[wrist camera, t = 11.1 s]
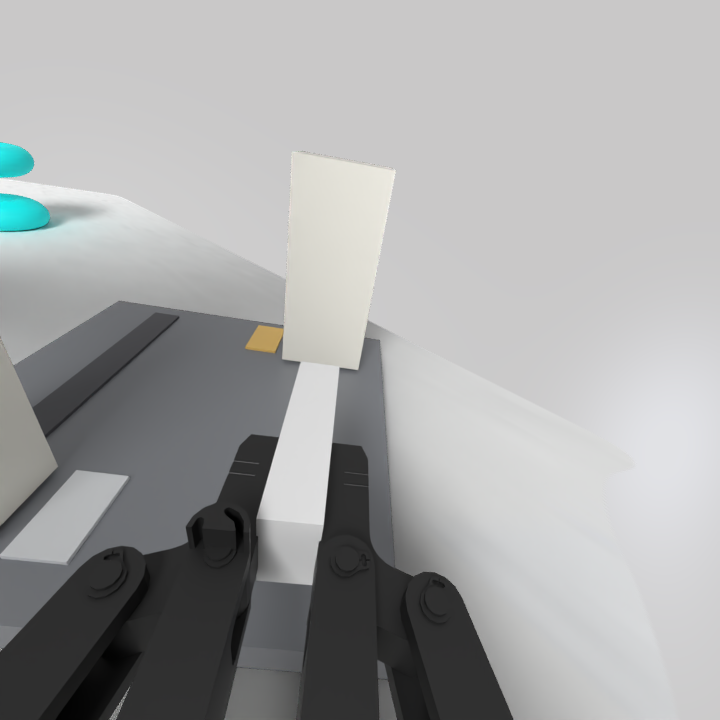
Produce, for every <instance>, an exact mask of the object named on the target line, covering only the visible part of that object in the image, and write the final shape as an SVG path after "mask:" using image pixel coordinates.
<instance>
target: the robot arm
mask: <svg viewBox="0 0 720 720" xmlns="http://www.w3.org/2000/svg"><path fill="white" fill-rule="evenodd" d="M339 367H340V366H333V365H325V364H318V363H311V362H303V361H301V363H300V366H299V370H298V373H297V377H296V380H295V384H294V387H293V391H292V394H291V398H290V401H289V405H288V409H287V412H286V416H285V419H284V423H283V426H282V430H281V433H280V437H272V436H264V435H255V434H251V435H250V436H249V437H248V438H247V439H246V440H245V441H244V442H243V443H242V444H241V445H240V446H239V448H238V451H237V453H236V456H235V458H234V462H233V463H232V465H231V468H230V470H229V474H228V475H227V478H226V480H225V482H224V485H223V487H222V490H221V492H220V495H219V497H218V500H217V502H216V503H214V504H212V505H209V506H206V507H204V508H202V509H201V510H200V511H199V512H197V513H196V514H195V515H193V516H192V518H191V519H190V521H189V522H188V524H187V525H186V532H187V538H188V542H187V543H185V544H183V545H181V546H178V547H175V548H172V549H167V550H163V551H159V552H154V553H150V554H145V555H143V554H142V553H141V552H140V551H138V550H137V549H135V548H134V547H128V546H118V547H113V548H108V549H106V550H104V551H102V552H100V553H98V554H96V555H94V556H92V557H91V558H90V559H89V560H88V561H86V562H85V563H84V564H83V565H82V566H80V567H79V568H78V569H77V570H76V572H75V573H74V574H73V575H72V576H71V577H70V578H69V579H68V580H67V581H66V582H65V583H64V584H63V585H62V586H61V588H60V589H59V590H58V591H57V592H56V593H55V594H54V595H53V596H52V597H51V598H50V599H49V600H48V601H47V603H46V604H45V605H44V606H43V607H42V608H41V609H40V610H39V611H38V612H37V613H36V614H35V615H34V616H33V617H32V619H31V620H30V621H29V622H28V623H27V624H26V625H25V626H24V627H23V628H22V629H21V630H20V631H19V632H18V634H17V635H16V636H15V637H14V638H13V639H12V640H11V641H10V642H9V643H8V644H7V645H6V646H5V647H4V648H3V650H2V651H1V652H0V720H109V718H110V717H111V715H112V714H113V712H114V710H115V709H116V707H117V706H118V704H119V702H120V701H121V699H122V698H123V696H124V694H125V693H126V691H127V690H128V688H129V686H130V685H131V686H130V689H129V691H128V694H127V696H126V698H125V701H124V703H123V705H122V708H121V710H120V712H119V715H118V717H117V719H116V720H224V718H225V714H226V709H227V705H228V701H229V697H230V693H231V688H232V684H233V680H234V676H235V672H236V667H237V663H238V659H239V655H240V651H241V646H242V642H243V638H244V634H245V630H246V626H247V621H248V617H249V613H250V609H251V594H252V590H253V586H254V582H255V578H256V581H268V582H280V583H292V584H304V585H312V592H311V601H310V607H309V613H308V618H307V624H306V625H307V630H306V639H305V647H304V656H303V664H302V673H301V682H300V690H299V699H298V707H297V716H296V720H379V698H378V664H377V660H379V661H380V662H382V663H384V664H385V668H386V673H387V677H388V682H389V686H390V691H391V695H392V699H393V704H394V708H395V713H396V717H397V720H513V717H512V715H511V712H510V710H509V708H508V705H507V703H506V701H505V698H504V696H503V694H502V691H501V689H500V687H499V684H498V682H497V679H496V677H495V675H494V672H493V670H492V668H491V665H490V663H489V661H488V658H487V656H486V653H485V651H484V649H483V646H482V644H481V642H480V639H479V637H478V635H477V632H476V630H475V628H474V625H473V623H472V620H471V618H470V616H469V613H468V611H467V609H466V606H465V604H464V602H463V599H462V597H461V596H460V594H459V592H458V591H457V589H456V587H455V586H454V585H453V584H452V583H451V582H450V581H449V580H448V579H446V578H445V577H443V576H441V575H439V574H437V573H435V572H423V573H420V574H418V575H416V576H414V577H413V576H411V575H409V574H406V573H404V572H402V571H400V570H398V569H396V568H393V567H392V566H390V565H388V564H387V563H385V562H384V561H383V560H382V559H381V558H380V557H379V556H378V554H377V553H376V551H375V550H374V548H373V545H372V543H371V539H370V523H369V488H368V487H369V476H368V458H367V456H366V454H365V452H364V450H363V448H362V446H357V445H348V444H340V443H332V437H333V427H334V417H335V407H336V397H337V387H338V377H339ZM131 683H132V684H131Z"/></svg>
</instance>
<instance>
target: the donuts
mask: <svg viewBox="0 0 720 720" xmlns="http://www.w3.org/2000/svg"><path fill="white" fill-rule="evenodd" d="M33 166H34V160H33V158H32V156H31V155H30V154H29V153H28V152H27V151H26V150H25V149H23V148H21V147H19V146H15V145H12V144H7V143H1V142H0V178H4V177H17V176H22V175H25V174H27V173H29V172H30V171H31V170H32V169H33ZM49 220H50V214H49V212H48V210H47V209H46V208H45V207H44V206H43V205H42V204H40V203H39V202H37V201H35V200H33V199H30V198H27V197H23V196H18V195H12V194H2V193H0V231H22V230H31V229H36V228H40V227H42V226H44V225H46V224H47V223H48V222H49Z"/></svg>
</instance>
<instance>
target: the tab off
mask: <svg viewBox="0 0 720 720" xmlns="http://www.w3.org/2000/svg"><path fill="white" fill-rule="evenodd" d="M57 467H58V465H57V463H56V460H55V458H54V456H53V454H52V452H51V449H50V447H49V445H48V443H47V440H46V438H45V436H44V434H43V431H42V429H41V427H40V425H39V422H38V420H37V418H36V416H35V414H34V411H33V409H32V407H31V405H30V402H29V400H28V398H27V396H26V393H25V391H24V389H23V387H22V384H21V382H20V380H19V378H18V375H17V373H16V371H15V369H14V367H13V364H12V362H11V360H10V358H9V355H8V353H7V351H6V349H5V346H4V344H3V342H2V340H1V337H0V526H1V525H2V524H3V523H4V522H5V521H6V520H7V519H8V518H9V517H10V516H11V515H12V513H13V512H14V511H15V510H16V509H17V508H18V507H19V506H20V505H21V504H22V503H23V502H24V501H25V500H26V499H27V498H28V497H29V496H30V495H31V494H32V493H33V492H34V491H35V490H36V489H37V488H38V487H39V486H40V485H41V484H42V483H43V482H44V481H45V480H46V479H47V477H48V476H49V475H50V474H51V473H52V472H53V471H54V470H55V469H56V468H57Z"/></svg>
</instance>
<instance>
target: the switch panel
mask: <svg viewBox="0 0 720 720" xmlns="http://www.w3.org/2000/svg"><path fill="white" fill-rule="evenodd" d="M283 331H284V326H283V325H277V324H270V323H263V322H257V321H250V320H243V319H237V318H230V317H223V316H217V315H210V314H204V313H197V312H190V311H184V310H177V309H170V308H164V307H157V306H150V305H144V304H137V303H130V302H124V301H118V302H117V303H115V304H113V305H112V306H110V307H109V308H107V309H105V310H104V311H102V312H100V313H99V314H97V315H95V316H94V317H92V318H91V319H89V320H87V321H86V322H84V323H82V324H81V325H79V326H78V327H76V328H74V329H73V330H71V331H69V332H68V333H66V334H65V335H63V336H61V337H60V338H58V339H56V340H55V341H53V342H51V343H50V344H48V345H47V346H45V347H43V348H42V349H40V350H38V351H37V352H35V353H34V354H32V355H30V356H29V357H27V358H25V359H24V360H22V361H21V362H19V363H17V364H16V365H14V366H13V367H14V369H15V371H16V373H17V375H18V378H19V380H20V382H21V384H22V387H23V389H24V391H25V393H26V396H27V398H28V400H29V402H30V405H31V407H32V409H33V411H34V414H35V416H36V418H37V420H38V422H39V425H40V427H41V429H42V431H43V434H44V436H45V438H46V440H47V443H48V445H49V447H50V449H51V452H52V454H53V456H54V458H55V460H56V463H57V465H58V467H57V468H56V469H55V470H54V471H53V472H52V473H51V474H50V475H49V476H48V477H47V479H46V480H45V481H44V482H43V483H42V484H41V485H40V486H39V487H38V488H37V489H36V490H35V491H34V492H33V493H32V494H31V495H30V496H29V497H28V498H27V499H26V500H25V501H24V502H23V503H22V504H21V505H20V506H19V507H18V508H17V509H16V510H15V511H14V512H13V513H12V515H11V516H10V517H9V518H8V519H7V520H6V521H5V522H4V523H3V524H2V525H1V526H0V648H4V647H5V646H6V645H7V644H8V643H9V642H10V641H11V640H12V639H13V638H14V637H15V636H16V635H17V634H18V632H19V631H20V630H21V629H22V628H23V627H24V626H25V625H26V624H27V623H28V622H29V621H30V620H31V619H32V617H33V616H34V615H35V614H36V613H37V612H38V611H39V610H40V609H41V608H42V607H43V606H44V605H45V604H46V603H47V601H48V600H49V599H50V598H51V597H52V596H53V595H54V594H55V593H56V592H57V591H58V590H59V589H60V588H61V586H62V585H63V584H64V583H65V582H66V581H67V580H68V579H69V578H70V577H71V576H72V575H73V574H74V573H75V572H76V570H77V569H78V568H79V567H80V566H82V565H83V564H84V563H85V562H86V561H88V560H89V559H90V558H91V557H92V556H94V555H96V554H98V553H100V552H102V551H104V550H106V549H108V548H113V547H118V546H128V547H134V548H135V549H137V550H138V551H140V552H141V553H142V554H143V555H145V554H150V553H154V552H159V551H163V550H167V549H172V548H175V547H178V546H181V545H183V544H185V543H187V542H188V538H187V532H186V525H187V524H188V522H189V521H190V519H191V518H192V516H193V515H195V514H196V513H197V512H199V511H200V510H201V509H202V508H204V507H206V506H209V505H212V504H214V503H216V502H217V500H218V497H219V495H220V492H221V490H222V487H223V485H224V482H225V480H226V478H227V475H228V474H229V470H230V468H231V465H232V463H233V462H234V458H235V456H236V453H237V451H238V448H239V446H240V445H241V444H242V443H243V442H244V441H245V440H246V439H247V438H248V437H249V436H250V435H251V434H255V435H264V436H272V437H280V433H281V430H282V426H283V423H284V419H285V416H286V412H287V409H288V405H289V401H290V398H291V394H292V391H293V387H294V384H295V380H296V377H297V373H298V370H299V366H300V363H301V362H298V361H291V360H284V359H282V352H283ZM332 443H340V444H348V445H357V446H362V448H363V450H364V452H365V454H366V456H367V458H368V476H369V487H368V488H369V523H370V539H371V543H372V545H373V548H374V550H375V551H376V553H377V554H378V556H379V557H380V558H381V559H382V560H383V561H384V562H385V563H387V564H388V565H390V566H392V567H393V568H395V561H394V546H393V531H392V516H391V501H390V486H389V471H388V456H387V441H386V426H385V411H384V396H383V381H382V366H381V351H380V340H376V339H370V338H364V342H363V347H362V352H361V358H360V363H359V368H358V370H354V369H347V368H340V367H339V377H338V387H337V397H336V407H335V417H334V427H333V437H332ZM311 592H312V585H304V584H292V583H280V582H268V581H256V578H255V582H254V586H253V590H252V594H251V609H250V613H249V617H248V621H247V626H246V630H245V634H244V638H243V642H242V646H241V651H240V655H239V659H238V663H237V667H241V668H253V669H266V670H278V671H290V672H302V664H303V656H304V647H305V639H306V630H307V625H306V624H307V618H308V613H309V607H310V601H311ZM377 664H378V679H388V677H387V673H386V668H385V664H384V663H382V662H380V661H379V660H377Z"/></svg>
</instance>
